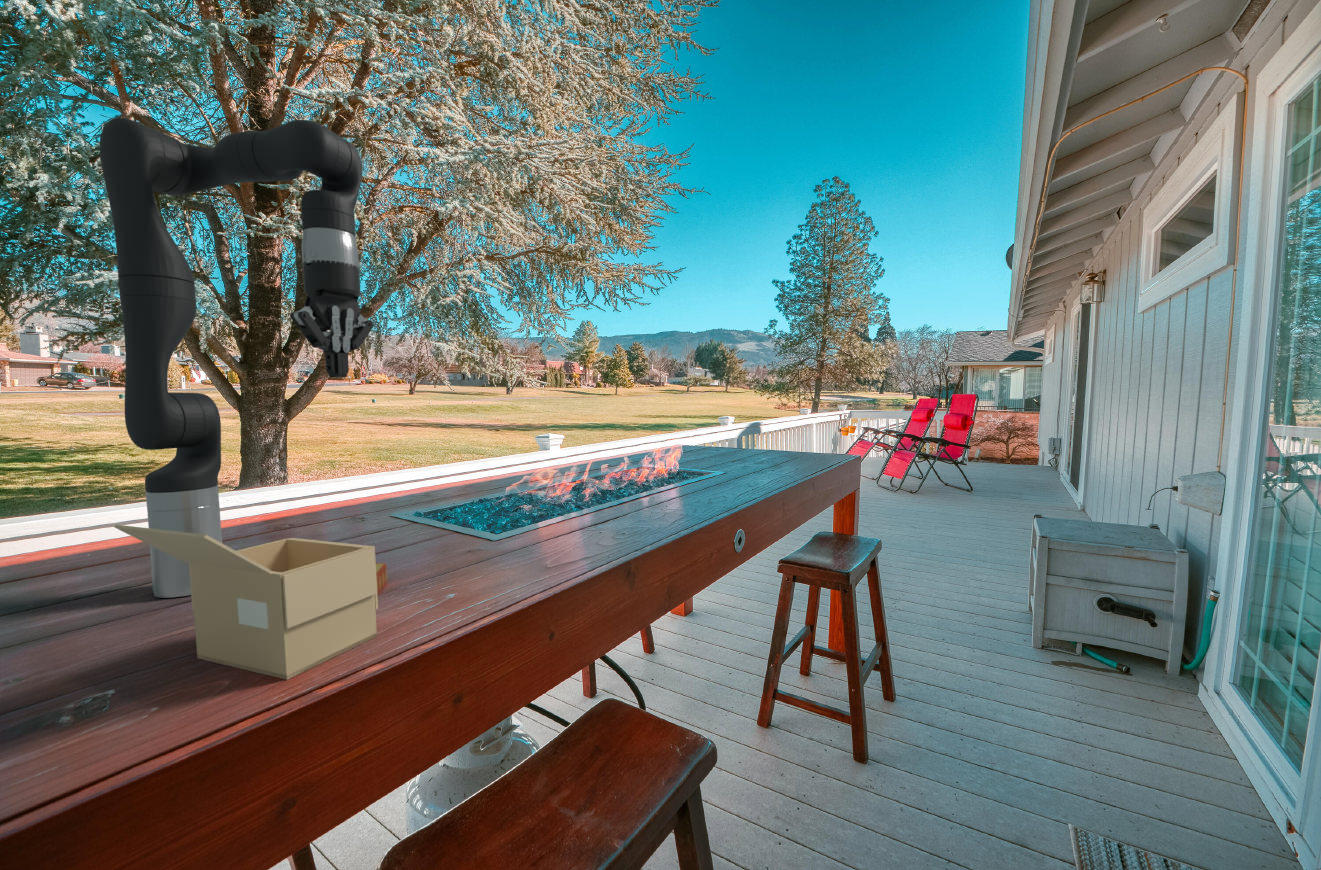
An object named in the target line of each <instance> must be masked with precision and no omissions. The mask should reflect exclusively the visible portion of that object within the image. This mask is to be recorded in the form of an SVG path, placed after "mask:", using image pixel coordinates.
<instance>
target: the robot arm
mask: <svg viewBox="0 0 1321 870" xmlns="http://www.w3.org/2000/svg"><path fill="white" fill-rule="evenodd" d="M98 145H99V146H98V147H99V159H100V165H101V171H102V175H103V180H104V185H105V190H106V192H107V193H106V194H107V197H108V202H109V207H110V211H111V217H112V224H113V230H114V240H115V246H116V247H115V249H116V259H117V260H116V261H117V279H118V292H119V301H120V308H121V314H122V323H123V333H124V334H123V337H124V346H125V347H124V348H125V350H124V352H125V374H124V375H125V376H124V378H125V379H124V381H125V382H124V422H125V427H126V431H127V434H128V437H129V438H130V440H131V442H132V443H133V444H134V445H135V446H136V447H137V448H140V449H142V450H145V451H146V450H147V451H156V450H157V451H159V450H170V449H176V452H175V456H174V457H173V458H172V459H171V460H170V461H169V462H168V463H166V464H165V465H163V466H161V467H159V468H158V469H155V470H152V471H151V472H148V474H146V476H145V478H144V486H145V499H146V509H147V511H146V512H147V523H148V524H147V525H148V528H151V529H160V530H169V531H178V532H187V533H196V534H205V535H208V536H210V537H211V538H213V539H215V540H217V541H219V542H220V543H222V544H223V538H222V537H223V536H222V535H223V534H222V525H221V524H222V523H221V508H220V498H219V497H220V496H219V494H220V493H219V480H218V477H219V474H220V471H221V466H222V426H221V425H222V423H221V415H220V411H219V409H218V406H217V404H216V402H215V401H214V400H213V398H211V397H210V396H209V395H206V394H205V393H201V392H169V388H168V373H169V372H168V371H169V364H170V361H171V358H172V356H173V354H174V352H175V351H176V349H177V347H178V346H179V344H180V343H181V342H182V340H183V339H184V337H185V336H186V335H187V333H188V331H189V330H190V328H191V327H192V325H193V323H194V321H195V319H196V316H197V312H198V311H197V297H196V285H195V278H194V277H195V276H194V273H193V270H192V268H191V266H190V264H189V261H188V260H187V259H186V257H185V256H184V254H183V253H182V251H181V249H180V248H179V246H178V245H177V243H176V242H175V240H174V239H173V237H172V236H171V235H170V233H169V231H168V230H167V229H166V228H167V227H165V225H164V223H163V222H162V219H161V217H160V214H159V211H158V208H157V205H156V199H155V194H154V192H157V193H160V194H163V195H167V196H175V197H176V196H186V195H189V194H194V193H198V192H203V191H207V190H211V189H215V188H219V187H224V186H229V185H234V184H242V183H259V182H262V183H265V182H267V183H268V182H269V183H271V182H287V181H293V180H296V179H297V178H299V177H301V175H302V174H303V172H304V171H305V172H308V173H310V174H311V175H314V176H315V177H317V178H320V179H321V187H320V189H312V190H308V191H306V192H305V193H303V195H302V197H301V202H300V203H301V204H300V207H301V208H300V209H301V210H300V211H301V212H300V213H301V223H302V224H301V225H302V226H301V227H302V238H301V257H302V259H301V260H302V278H303V290H304V293H306V298H305V300H304V304H303V305H304V306H303V307H302V308H301V309H299V310H297V311H293V312H291V313H290V315H289V317H290V319H291V320H292V321H293V323H294V324H295V325H296V327H297V329H298V330H299V331H300V332H301V334H302V335H303V336H304V338H305V339H306V340H307V342H308V343H309V345H310V346H311V347H312V348H315V349H319V350H320V351H321V350H322V352H323V353H324V358H325V359H324V360H325V371H326V374H328V376H329V378H335V379H336V378H338V379H339V378H340V379H341V378H346V377H348V375H349V371H350V368H349V367H350V366H349V353H350V352H352V351H356V350H359V349H360V348H361V347H362V345H363V343H364V341H366V338H367V337H368V335H369V334H370V332H371V331H372V330H373V328H374V326H375V324H374V321H373V320H370V319H369V320H367V319H366V318H365V316H363V315H362V311H361V310H362V309H361V307H360V305H359V302H358V301H359V298H360V297H361V296H360V295H361V281H360V262H359V261H360V259H359V250H358V245H357V238H356V220H355V219H356V218H355V208H356V205H357V202H358V197H359V194H360V187H361V185H362V184H361V183H362V179H363V173H364V171H363V170H364V169H363V162H362V158H361V156H360V154H359V151H358V149H357V148H356V147H355V146H354V145H353V144H352V143H351V142H350V141H348V140H346V139H345V138H344V137H342V136H340V135H338V133H335V132H334V131H332V130H331V129H329V128H327V127H326V126H324V125H323V124H320V123H318V122H316V121H313V120H312V121H311V120H307V119H294V120H291V121H287V122H285V123H283V124H281V125H279V126H276V127H274V128H272V129H269V130H255V131H254V130H253V131H239V132H233V133H231V134H227V135H225V136H224V137H221V139H220V140H219V141H218V142H217V143H216V144H215V146H212V147H210V146H209V147H206V146H205V147H204V146H197V145H192V144H186V143H183V142H181V141H179V140H178V139H176V138H175V137H173V136H170V135H168V134H166V133H163V132H161V131H159V130H156V129H154V128H152V127H150V126H147V125H145V124H142V123H141V122H138V121H136V120H133V119H131V118H130V119H129V118H126V117H122V116H121V117H114V118H110V120H108V121H107V122H106V123H105V124H104V126H103V128H102V130H101V133H100V137H99V144H98ZM148 546H149V557H150V571H151V582H152V583H151V584H152V586H151V587H152V592H153V596H154V597H155V598H162V599H164V598H165V599H166V598H178V597H185V596H186V597H187V596H191V585H190V572H189V563H188V562H183V561H181V560H179V559H177V558H175V557H173V556H171V555H169V554H167V553H165V552H163V551H161V550H159V549H157V548H155V547H153V546H151V545H149V544H148Z"/></svg>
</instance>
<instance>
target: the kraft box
mask: <svg viewBox="0 0 1321 870" xmlns="http://www.w3.org/2000/svg"><path fill="white" fill-rule="evenodd" d="M236 551H237V552H239V553H240V554H242V555H244V556H246V557H248V558H249V559H251V560H253V561H255V562H257V563H258V564H260V565H262V566H264V567H266V568H267V569H269V570H271V571H273V574H265V573H258V572H251V571H244V570H237V569H230V568H223V567H216V566H209V565H202V564H195V563H189V572H190V585H191V595H190V597H191V609H192V611H193V614H194V615H193V616H194V626H195V643H196V655H197V659H199V660H203V661H207V662H211V663H216V664H221V665H224V666H229V667H231V668H232V667H233V668H237V669H241V670H243V671H244V670H245V671H249V672H254V673H258V674H262V675H265V676H270V677H274V678H277V679H282V680H286V681H287V680H290V679H292V678H294V677H296V676H298V675H300V674H302V673H305V672H306V671H308V670H310V669H312V668H315V667H317V666H319V665H321V664H323V663H325V662H327V661H329V660H331V659H333V658H336V657H337V656H340V655H341V654H344V653H345V652H348V651H350V650H352V649H354V648H357V647H358V646H360V645H362V644H364V643H367V642H369V641H371V640H373V639H375V638H377V637H378V633H377V631H378V630H377V629H378V628H377V615H376V614H377V613H376V610H378V609H379V604H378V603H379V600H378V599H379V598H378V597H379V596H378V597H377V579H376V563H377V562H376V547H375V546H374V545H364V544H355V543H347V542H346V543H345V542H338V541H337V542H335V541H326V540H316V539H306V538H300V537H299V538H297V537H291V538H290V537H288V538H284V539H279V540H275V541H271V542H267V543H263V544H258V545H255V546H249V547H246V548H242V549H237V550H236Z"/></svg>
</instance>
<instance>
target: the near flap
mask: <svg viewBox="0 0 1321 870" xmlns="http://www.w3.org/2000/svg"><path fill="white" fill-rule="evenodd" d="M113 528H115V529H117V530H118V531H121V532H122V533H124V534H127V535H129V536H131V537H132V538H135V539H137V540H139V541H141V542H142V543H145V544H147V545H148V546H149V545H151V546H153V547H155V548H157V549H159V550H161V551H163V552H165V553H167V554H169V555H171V556H173V557H175V558H177V559H179V560H181V561H183V562H188V563H195V564H202V565H209V566H216V567H223V568H230V569H237V570H244V571H251V572H258V573H265V574H273V571H271V570H269V569H267V568H266V567H264V566H262V565H260V564H258V563H257V562H255V561H253V560H251V559H249V558H248V557H246V556H244V555H242V554H240V553H239V552H237V550H234V549H233V548H231V547H229V546H228V545H226V544H224V543H223V542H222V543H220V542H219V541H217V540H215V539H213V538H211V537H210V536H208V535H205V534H196V533H187V532H178V531H169V530H160V529H151V528H149V527H141V526H132V525H131V526H129V525H123V524H122V525H121V524H114V526H113Z"/></svg>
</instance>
